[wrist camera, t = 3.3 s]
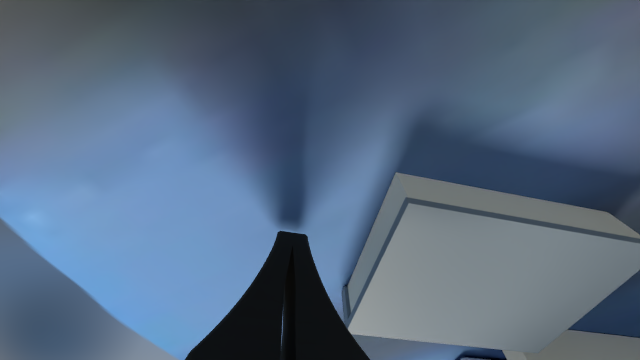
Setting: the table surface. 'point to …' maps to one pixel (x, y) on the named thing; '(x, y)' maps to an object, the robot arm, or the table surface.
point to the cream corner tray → (584, 348)
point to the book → (483, 267)
